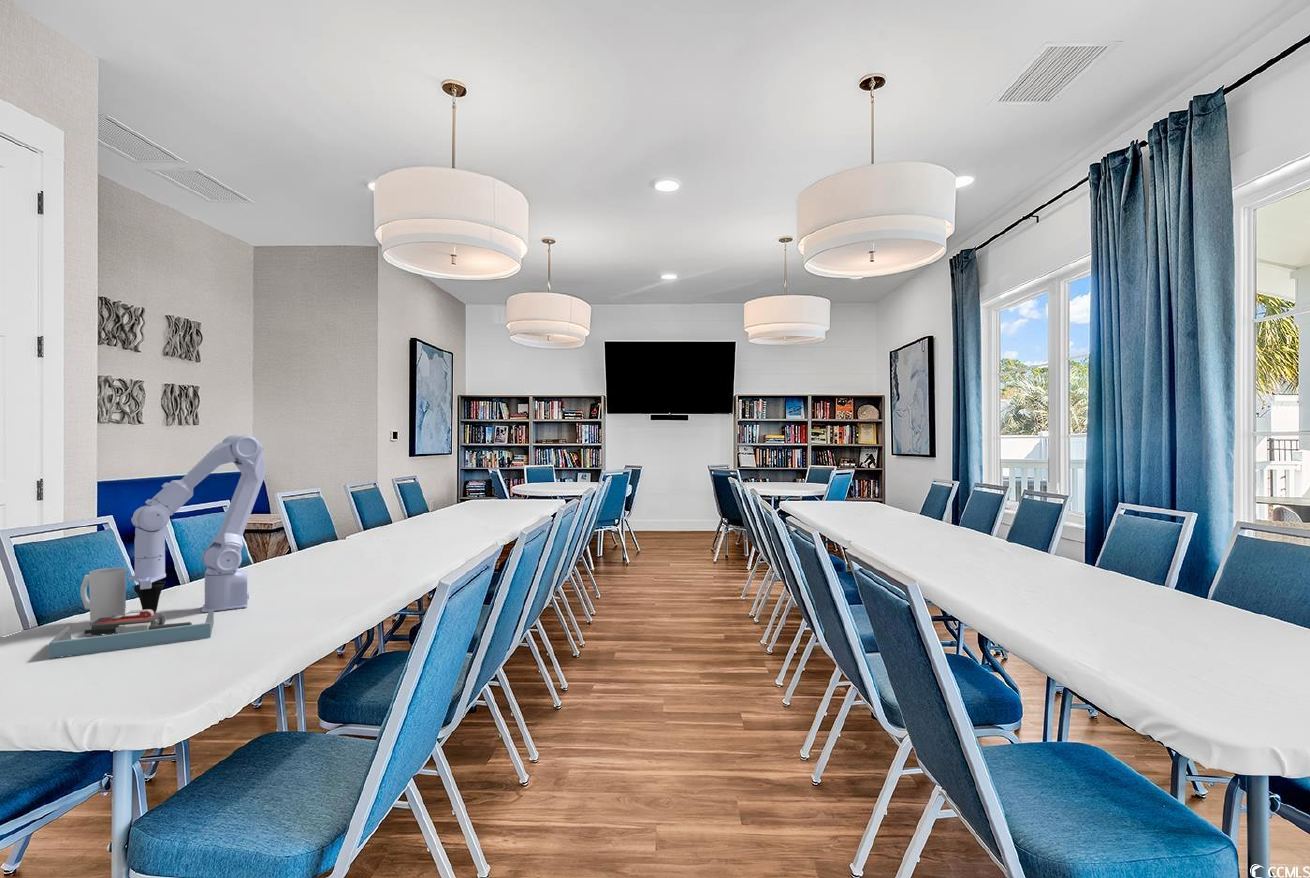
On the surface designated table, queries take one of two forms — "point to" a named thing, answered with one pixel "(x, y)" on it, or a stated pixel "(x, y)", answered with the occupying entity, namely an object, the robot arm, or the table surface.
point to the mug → (105, 592)
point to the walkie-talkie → (130, 623)
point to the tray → (128, 639)
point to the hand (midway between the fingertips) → (149, 613)
